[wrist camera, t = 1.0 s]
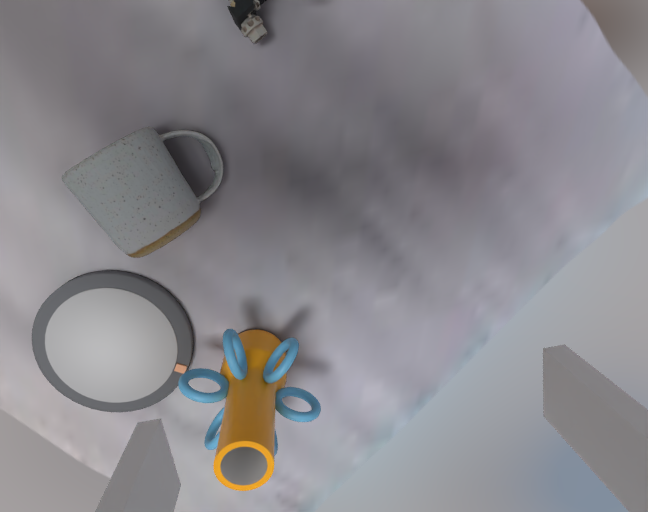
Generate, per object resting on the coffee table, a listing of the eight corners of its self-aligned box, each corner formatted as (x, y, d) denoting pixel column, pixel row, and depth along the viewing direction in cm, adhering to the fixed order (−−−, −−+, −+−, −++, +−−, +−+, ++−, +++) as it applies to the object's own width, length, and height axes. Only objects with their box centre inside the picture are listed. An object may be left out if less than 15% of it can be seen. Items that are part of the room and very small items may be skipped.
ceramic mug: (144, 249, 41) (116, 276, 33) (84, 170, 38) (39, 180, 31) (244, 187, 40) (238, 201, 33) (190, 103, 38) (170, 98, 30)
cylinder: (181, 317, 43) (131, 416, 28) (286, 284, 43) (289, 366, 28) (226, 421, 46) (202, 555, 32) (323, 390, 46) (342, 510, 32)
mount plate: (22, 379, 43) (14, 388, 42) (60, 248, 40) (52, 252, 39) (167, 421, 46) (163, 430, 44) (213, 300, 43) (211, 306, 41)
